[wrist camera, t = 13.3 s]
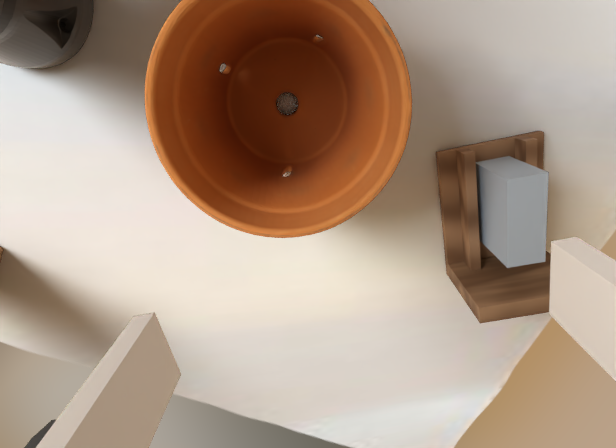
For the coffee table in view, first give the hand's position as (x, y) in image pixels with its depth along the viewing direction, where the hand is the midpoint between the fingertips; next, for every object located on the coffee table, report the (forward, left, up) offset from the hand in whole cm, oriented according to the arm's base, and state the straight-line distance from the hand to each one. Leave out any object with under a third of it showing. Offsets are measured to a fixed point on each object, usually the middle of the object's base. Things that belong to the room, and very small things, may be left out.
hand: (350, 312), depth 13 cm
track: (+12, +19, -35) cm, 41 cm away
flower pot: (-5, -3, -35) cm, 35 cm away
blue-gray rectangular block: (+11, +19, -34) cm, 40 cm away
